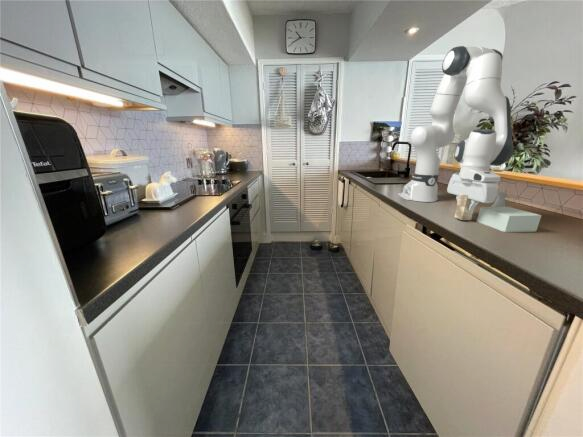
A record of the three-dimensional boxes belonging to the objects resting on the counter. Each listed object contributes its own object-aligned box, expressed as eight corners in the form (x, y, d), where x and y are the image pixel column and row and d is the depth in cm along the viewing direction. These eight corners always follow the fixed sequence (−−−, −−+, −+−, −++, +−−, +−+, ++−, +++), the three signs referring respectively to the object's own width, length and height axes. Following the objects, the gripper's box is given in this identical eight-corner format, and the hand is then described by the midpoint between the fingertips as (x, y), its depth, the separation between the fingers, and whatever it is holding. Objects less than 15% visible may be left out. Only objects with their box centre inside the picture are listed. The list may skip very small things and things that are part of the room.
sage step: (476, 221, 94) (480, 207, 92) (504, 221, 95) (508, 206, 93) (504, 232, 83) (509, 215, 81) (536, 231, 83) (541, 215, 82)
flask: (507, 219, 97) (514, 196, 94) (485, 216, 101) (491, 193, 98) (506, 215, 102) (512, 193, 99) (484, 212, 107) (490, 191, 104)
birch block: (454, 217, 97) (459, 193, 94) (463, 216, 98) (469, 193, 95) (461, 220, 94) (467, 195, 91) (471, 219, 94) (477, 195, 91)
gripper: (446, 171, 100) (440, 202, 104) (488, 177, 80) (478, 216, 85) (460, 171, 100) (453, 202, 104) (505, 177, 81) (494, 215, 85)
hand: (464, 208), depth 94 cm, fingers closed on birch block, 4 cm apart
